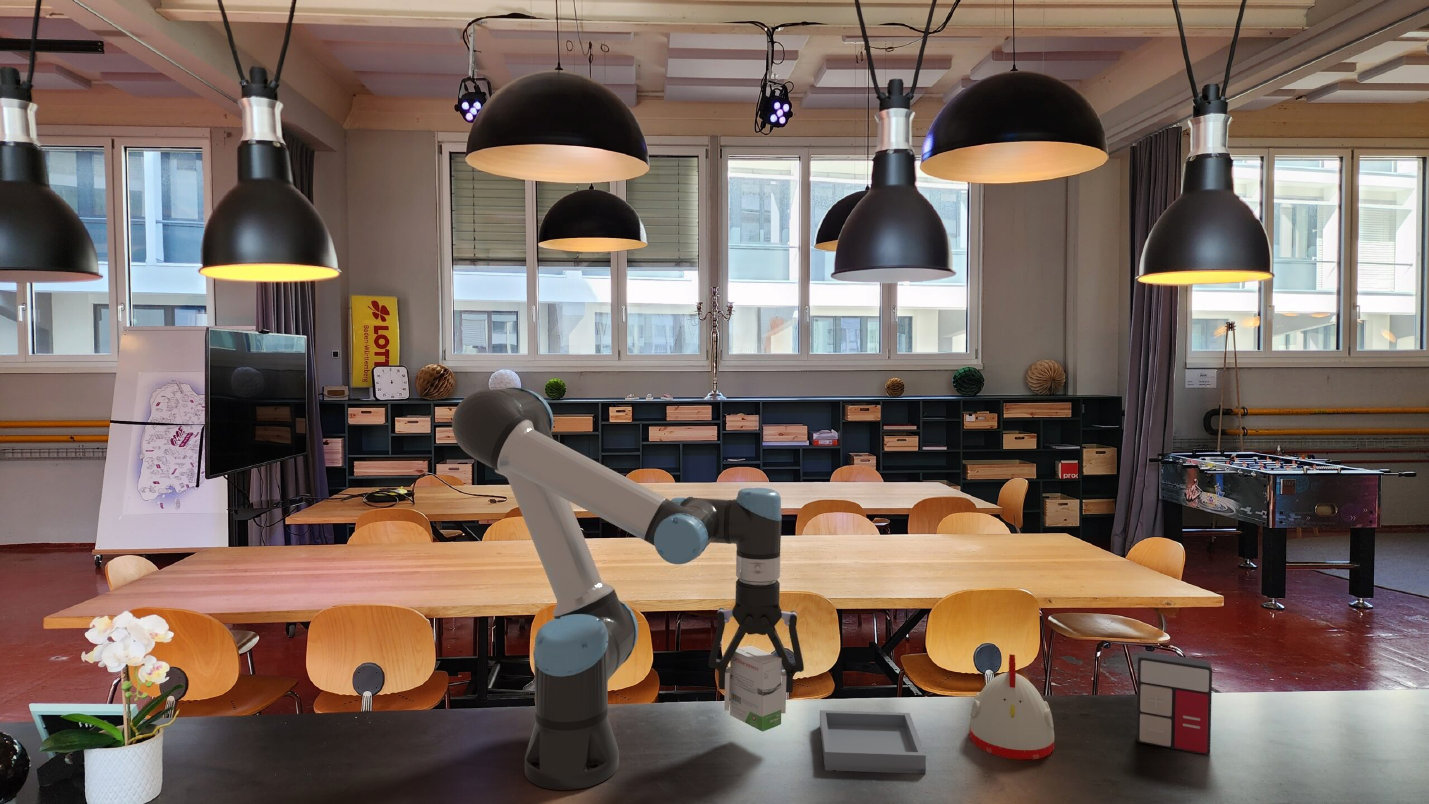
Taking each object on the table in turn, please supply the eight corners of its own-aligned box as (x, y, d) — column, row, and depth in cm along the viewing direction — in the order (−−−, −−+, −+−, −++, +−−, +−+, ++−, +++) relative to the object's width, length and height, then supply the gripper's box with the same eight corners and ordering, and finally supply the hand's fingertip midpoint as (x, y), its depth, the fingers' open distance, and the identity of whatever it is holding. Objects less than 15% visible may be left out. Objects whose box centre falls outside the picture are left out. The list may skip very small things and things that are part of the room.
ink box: (782, 725, 138) (784, 656, 137) (761, 732, 134) (762, 663, 134) (748, 707, 144) (750, 642, 144) (727, 714, 141) (729, 648, 140)
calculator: (1136, 743, 139) (1137, 658, 139) (1136, 733, 143) (1137, 650, 143) (1210, 757, 134) (1212, 669, 134) (1208, 747, 138) (1210, 660, 138)
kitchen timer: (968, 752, 137) (969, 665, 136) (970, 718, 150) (971, 639, 149) (1057, 765, 132) (1058, 674, 132) (1051, 729, 145) (1052, 647, 145)
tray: (824, 769, 131) (824, 751, 130) (819, 726, 146) (819, 710, 146) (925, 773, 129) (925, 755, 129) (909, 729, 145) (909, 712, 145)
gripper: (692, 582, 135) (690, 714, 136) (822, 587, 134) (819, 721, 135) (696, 571, 143) (694, 696, 144) (820, 576, 141) (817, 702, 142)
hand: (755, 708), depth 139 cm, fingers closed on ink box, 9 cm apart
